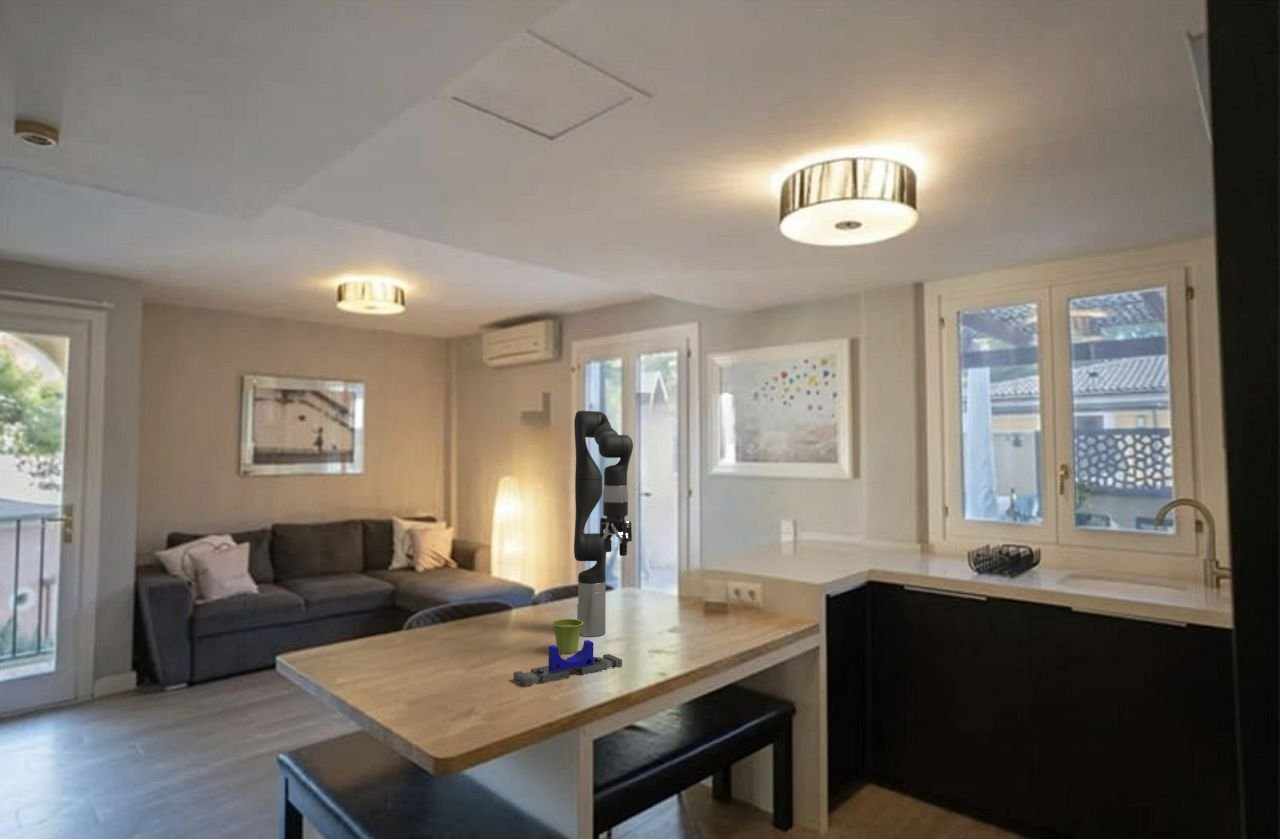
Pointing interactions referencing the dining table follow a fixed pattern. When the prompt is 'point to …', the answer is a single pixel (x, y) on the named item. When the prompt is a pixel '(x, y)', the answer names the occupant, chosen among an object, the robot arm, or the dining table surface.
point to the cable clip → (574, 661)
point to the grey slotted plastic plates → (565, 671)
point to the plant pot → (567, 634)
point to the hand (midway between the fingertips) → (615, 553)
